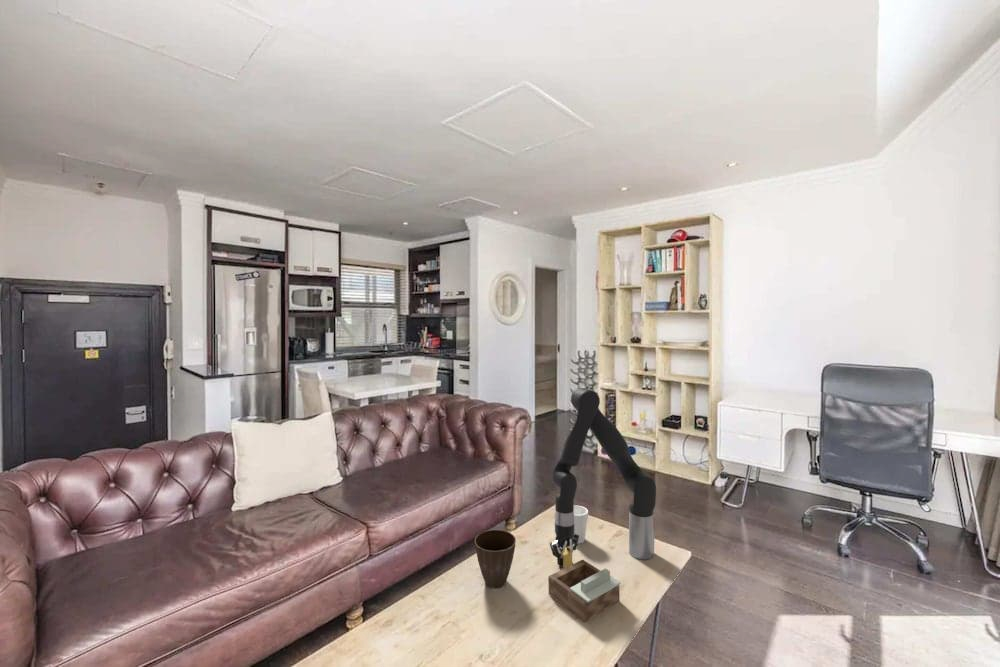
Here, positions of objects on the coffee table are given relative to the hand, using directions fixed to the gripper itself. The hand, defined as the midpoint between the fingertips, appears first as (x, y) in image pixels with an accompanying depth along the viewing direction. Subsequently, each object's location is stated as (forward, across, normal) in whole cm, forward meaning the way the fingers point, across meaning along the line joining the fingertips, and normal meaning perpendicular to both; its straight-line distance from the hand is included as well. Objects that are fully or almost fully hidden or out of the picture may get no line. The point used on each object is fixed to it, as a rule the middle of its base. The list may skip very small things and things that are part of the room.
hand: (564, 563), depth 169 cm
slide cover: (-7, +8, +23) cm, 26 cm away
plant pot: (+1, +28, -7) cm, 29 cm away
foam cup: (+1, -17, -10) cm, 20 cm away
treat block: (0, 0, 0) cm, 0 cm away
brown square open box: (0, +8, +18) cm, 20 cm away
